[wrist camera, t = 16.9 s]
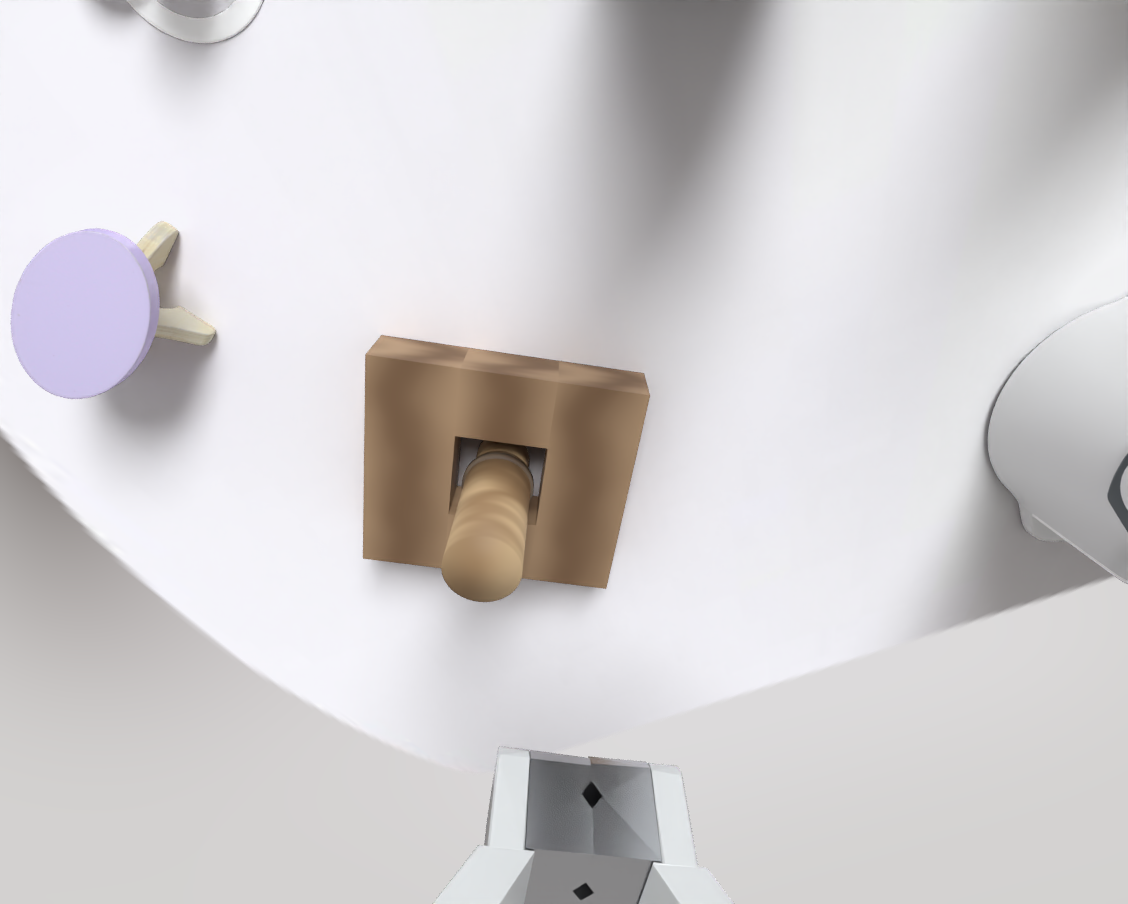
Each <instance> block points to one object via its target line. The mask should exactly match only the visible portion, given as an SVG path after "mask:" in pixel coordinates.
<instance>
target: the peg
mask: <svg viewBox="0 0 1128 904" xmlns="http://www.w3.org/2000/svg"><path fill="white" fill-rule="evenodd" d="M528 466H529V451H528V449H527V447H526V446H524V445H517V444H509V443H502V442H495V441H488V440H484V441H483V442H482V443H481V445H480V447H479V449H478V452H477V456H476V459H474V460H473V461H472V462H471V463H470V464H469V465H468V467H467V468H466V470H465V473H464V476H463V479H462V492H461V496H460V499H459V503H458V506H457V510H456V513H455V517H454V521H453V524H452V528H451V531H450V535H449V538H448V542H447V545H446V549H445V552H444V556H443V560H442V565H441V570H442V575H443V578H444V580H445V582H446V583H447V585H448V586H449V587H450V588H451V589H452V590H453V591H454V592H455V593H457V594H458V595H460V596H462V597H464V598H466V599H469V600H472V601H478V602H491V601H496V600H499V599H502V598H504V597H506V596H508V595H509V594H511V593H512V592H513V591H514V590H515V589H516V588H517V586H518V585H519V583H520V581H521V577H522V570H523V561H524V551H525V541H526V531H527V522H528V512H529V502H530V500H531V498H532V495H533V487H534V482H533V477H532V474H531V472H530V470H529V468H528Z"/></svg>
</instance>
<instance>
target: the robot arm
mask: <svg viewBox="0 0 1128 904" xmlns="http://www.w3.org/2000/svg"><path fill="white" fill-rule="evenodd" d="M988 451H989V457H990V461H991V464H992V467H993V469H994V471H995V473H996V475H997V477H998V478H999V480H1000V481H1001V482H1002V483H1003V485H1004V486H1005V487H1006V488H1007V489H1008V490H1009V491H1010V492H1011V493H1012V494H1013V495H1014V497H1015V498H1016V499H1017V501H1018V503H1019V509H1020V515H1021V520H1022V524H1023V526H1024V528H1025V530H1026V531H1027V532H1028V533H1029V534H1031V535H1032V536H1034V537H1035V538H1037V539H1038V540H1041V541H1067V542H1068V543H1069V544H1071V545H1072V546H1074V547H1075V548H1076V549H1078V550H1079V551H1080V552H1082V553H1083V554H1084V555H1086V556H1087V557H1089V558H1090V559H1091V560H1093V561H1094V562H1095V563H1097V564H1098V565H1100V566H1101V567H1102V568H1104V569H1105V570H1107V571H1108V572H1109V573H1111V574H1112V575H1114V576H1115V577H1116V578H1118V579H1119V580H1121V581H1122V582H1124V583H1127V584H1128V296H1126V297H1124V298H1122V299H1119V300H1117V301H1114V302H1112V303H1109V304H1107V305H1104V306H1102V307H1099V308H1097V309H1094V310H1092V311H1090V312H1088V313H1085V314H1083V315H1082V316H1080V317H1078V318H1076V319H1074V320H1072V321H1071V322H1069V323H1067V324H1066V325H1064V326H1063V327H1061V328H1060V329H1058V330H1057V331H1055V332H1054V333H1053V334H1051V335H1050V336H1049V337H1047V338H1046V339H1045V340H1044V341H1043V342H1041V343H1040V344H1039V345H1038V346H1037V347H1036V348H1035V349H1034V350H1033V351H1032V352H1031V353H1030V354H1029V355H1028V356H1027V357H1026V358H1025V359H1024V360H1023V361H1022V362H1021V364H1020V365H1019V366H1018V367H1017V368H1016V370H1015V371H1014V372H1013V374H1012V375H1011V377H1010V378H1009V379H1008V381H1007V383H1006V384H1005V386H1004V388H1003V389H1002V391H1001V393H1000V395H999V397H998V399H997V402H996V404H995V407H994V409H993V412H992V416H991V419H990V424H989V430H988ZM433 904H734V903H733V901H732V900H731V899H730V898H729V896H728V895H727V893H726V892H725V891H724V889H723V888H722V887H721V886H720V884H719V883H718V881H717V880H716V879H715V878H714V876H713V875H712V873H711V872H710V871H709V869H707V868H704V867H698V863H697V857H696V852H695V846H694V840H693V835H692V828H691V823H690V818H689V812H688V806H687V800H686V795H685V789H684V783H683V777H682V772H681V771H680V769H679V767H678V766H674V765H663V764H653V763H646V762H642V761H631V760H620V759H609V758H598V757H588V758H585V757H578V756H570V755H563V754H556V753H548V752H541V751H534V750H530V751H529V750H526V749H518V748H509V747H500V746H499V748H498V753H497V759H496V766H495V772H494V778H493V784H492V791H491V797H490V804H489V811H488V818H487V825H486V834H485V843H484V846H482V845H478V846H477V847H476V849H475V850H474V852H473V853H472V854H471V855H470V856H469V858H468V859H467V860H466V862H465V863H464V864H463V865H462V867H461V868H460V869H459V870H458V872H457V873H456V874H455V876H454V877H453V878H452V879H451V881H450V882H449V883H448V885H447V886H446V887H445V888H444V890H443V891H442V892H441V894H440V895H439V896H438V897H437V899H436V900H435V901H434V903H433Z"/></svg>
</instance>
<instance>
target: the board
mask: <svg viewBox="0 0 1128 904" xmlns="http://www.w3.org/2000/svg"><path fill="white" fill-rule="evenodd" d="M649 398H650V394H649V390H648V386H647V383H646V379H645V376H644V373H638V372H631V371H624V370H617V369H611V368H604V367H597V366H590V365H583V364H576V363H569V362H562V361H555V360H549V359H542V358H535V357H528V356H521V355H514V354H507V353H500V352H493V351H487V350H480V349H473V348H466V347H459V346H452V345H445V344H438V343H431V342H425V341H418V340H411V339H404V338H397V337H390V336H383V335H381V336H380V338H379V339H378V340H377V341H376V342H375V344H374V345H373V346H372V347H371V349H370V350H369V351H368V352H367V353H366V355H365V434H364V517H363V559H371V560H379V561H387V562H395V563H404V564H412V565H420V566H428V567H436V568H441V565H442V560H443V556H444V552H445V549H446V545H447V542H448V538H449V535H450V531H451V528H452V524H453V521H454V517H455V513H456V510H457V506H458V503H459V499H460V496H461V492H462V486H457V479H458V468H459V456H460V445H461V437H466V438H473V439H480V440H488V441H495V442H502V443H509V444H517V445H524V446H531V447H539V448H546V450H545V456H544V462H543V469H542V475H541V482H540V488H539V495H538V496H532V498H531V500H530V502H529V512H528V522H527V531H526V541H525V551H524V561H523V570H522V577H521V578H524V579H532V580H540V581H548V582H556V583H564V584H573V585H581V586H589V587H597V588H605V589H606V587H607V583H608V578H609V574H610V569H611V565H612V561H613V556H614V552H615V547H616V543H617V539H618V534H619V530H620V525H621V521H622V517H623V512H624V508H625V503H626V499H627V494H628V490H629V486H630V481H631V477H632V472H633V468H634V464H635V459H636V455H637V450H638V446H639V442H640V437H641V433H642V428H643V424H644V420H645V415H646V411H647V406H648V402H649Z"/></svg>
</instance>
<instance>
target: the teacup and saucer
mask: <svg viewBox="0 0 1128 904" xmlns="http://www.w3.org/2000/svg"><path fill="white" fill-rule="evenodd" d="M126 1H127V2H128V3H129V4H130V5H131V7H132V8H133V9H134V10H135V11H136V12H137V13H138V14H139V15H140V16H142V17H143V18H144V19H145V20H146V21H148V22H149V23H150V24H151V25H153V26H154V27H156V28H157V29H159V30H161V31H162V32H164V33H166V34H168V35H170V36H172V37H175V38H178V39H181V40H184V41H188V42H193V43H214V42H219V41H223V40H226V39H228V38H231V37H233V36H234V35H236V34H238V33H239V32H240V31H242V30H243V29H244V28H245V27H246V26H247V25H248V24H249V23H250V22H251V21H252V20H253V18H254V17H255V15H256V14H257V12H258V11H259V9H260V7H261V4H262V2H263V0H235V1H234V2H233V3H232V4H231V5H230V6H229V7H228V8H227V9H226V10H224V11H223V12H221V13H219V14H217V15H214V16H211V17H206V18H192V17H187V16H183V15H180V14H177V13H175V12H173V11H171V10H169V9H167V8H166V7H164V6H163V5H161V4H160V3H158V2H157V1H156V0H126Z"/></svg>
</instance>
